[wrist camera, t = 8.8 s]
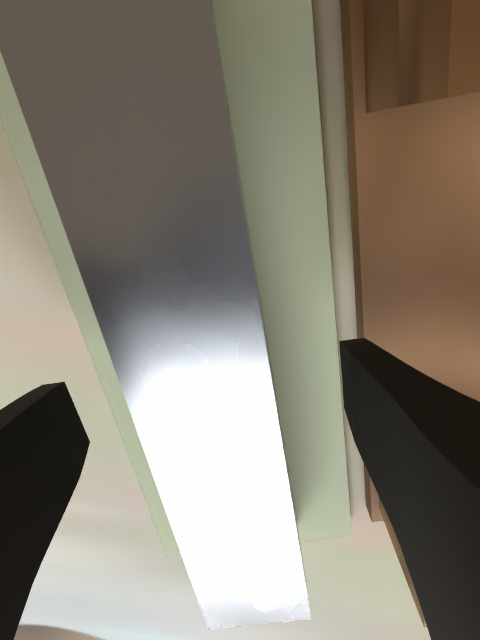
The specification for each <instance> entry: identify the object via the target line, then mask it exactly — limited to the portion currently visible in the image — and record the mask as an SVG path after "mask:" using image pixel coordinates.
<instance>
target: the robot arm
mask: <svg viewBox="0 0 480 640" xmlns="http://www.w3.org/2000/svg"><path fill="white" fill-rule="evenodd" d="M339 342H340V355H341V369H342V382H343V396H344V408H345V411H346V415H347V418H348V422H349V425H350V428H351V431H352V435H353V438H354V441H355V444H356V446H357V448H358V451H359V453H360V455H361V457H362V460H363V462H364V464H365V466H366V469H367V471H368V473H369V475H370V477H371V480H372V482H373V484H374V486H375V489H376V491H377V493H378V495H379V498H380V500H381V502H382V504H383V506H384V509H385V511H386V513H387V515H388V518H389V520H390V522H391V524H392V527H393V529H394V532H395V534H396V537H397V539H398V542H399V544H400V547H401V550H402V553H403V556H404V559H405V562H406V565H407V568H408V570H409V573H410V576H411V579H412V582H413V585H414V588H415V591H416V594H417V597H418V600H419V603H420V606H421V609H422V612H423V615H424V619H425V622H426V625H427V628H428V631H429V634H430V637H431V640H480V402H479V401H477V400H475V399H473V398H470V397H468V396H466V395H464V394H462V393H460V392H458V391H456V390H454V389H452V388H450V387H448V386H446V385H444V384H442V383H440V382H438V381H436V380H435V379H433V378H431V377H429V376H427V375H425V374H424V373H422V372H420V371H418V370H417V369H415V368H413V367H412V366H410V365H408V364H406V363H405V362H403V361H402V360H400V359H398V358H397V357H395V356H393V355H392V354H390V353H389V352H387V351H385V350H384V349H382V348H381V347H379V346H377V345H376V344H374V343H373V342H371V341H369V340H368V339H366V338H358V339H352V340H345V341H339ZM89 443H90V441H89V439H88V436H87V434H86V432H85V429H84V427H83V425H82V422H81V420H80V417H79V415H78V413H77V410H76V408H75V406H74V403H73V401H72V398H71V396H70V394H69V391H68V389H67V387H66V384H65V382H60V383H53V384H46V385H42V386H40V387H38V388H36V389H34V390H32V391H30V392H28V393H27V394H25V395H23V396H21V397H20V398H18V399H17V400H15V401H13V402H12V403H10V404H9V405H7V406H6V407H4V408H3V409H1V410H0V640H14V637H15V634H16V631H17V627H18V625H19V622H20V619H21V616H22V613H23V610H24V607H25V604H26V602H27V599H28V596H29V593H30V590H31V587H32V584H33V582H34V579H35V577H36V575H37V572H38V570H39V567H40V565H41V562H42V560H43V558H44V556H45V554H46V552H47V549H48V547H49V545H50V543H51V541H52V538H53V536H54V534H55V532H56V530H57V527H58V525H59V523H60V521H61V519H62V516H63V514H64V512H65V510H66V508H67V505H68V503H69V501H70V499H71V496H72V494H73V492H74V490H75V487H76V485H77V483H78V480H79V478H80V475H81V472H82V468H83V465H84V462H85V458H86V455H87V451H88V447H89Z"/></svg>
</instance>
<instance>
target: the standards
mask: <svg viewBox="0 0 480 640" xmlns="http://www.w3.org/2000/svg"><path fill="white" fill-rule="evenodd" d="M340 4H341V24H342V44H343V63H344V83H345V102H346V122H347V142H348V161H349V181H350V200H351V220H352V240H353V259H354V279H355V298H356V318H357V337H358V338H366V339H368V340H369V341H371V342H373V343H374V344H376V345H377V346H379V347H381V348H382V349H384V350H385V351H387V352H389V353H390V354H392V355H393V356H395V357H397V358H398V359H400V360H402V361H403V362H405V363H406V364H408V365H410V366H412V367H413V368H415V369H417V370H418V371H420V372H422V373H424V374H425V375H427V376H429V377H431V378H433V379H435V380H436V381H438V382H440V383H442V384H444V385H446V386H448V387H450V388H452V389H454V390H456V391H458V392H460V393H462V394H464V395H466V396H468V397H470V398H473V399H475V400H477V401H479V402H480V0H340ZM364 475H365V494H366V506H367V509H368V512H369V515H370V518H371V521H372V522H376V521H384V522H385V525H386V527H387V530H388V533H389V535H390V538H391V541H392V543H393V546H394V549H395V551H396V554H397V557H398V559H399V562H400V565H401V567H402V570H403V573H404V575H405V578H406V580H407V583H408V586H409V588H410V591H411V594H412V596H413V599H414V602H415V604H416V607H417V610H418V612H419V615H420V618H421V620H422V623H423V626H424V627H427V625H426V622H425V619H424V615H423V612H422V609H421V606H420V603H419V600H418V597H417V594H416V591H415V588H414V585H413V582H412V579H411V576H410V573H409V570H408V568H407V565H406V562H405V559H404V556H403V553H402V550H401V547H400V544H399V542H398V539H397V537H396V534H395V532H394V529H393V527H392V524H391V522H390V520H389V518H388V515H387V513H386V511H385V509H384V506H383V504H382V502H381V500H380V498H379V495H378V493H377V491H376V489H375V486H374V484H373V482H372V480H371V477H370V475H369V473H368V471H367V469H366V466H365V464H364Z"/></svg>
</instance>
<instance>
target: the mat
mask: <svg viewBox="0 0 480 640" xmlns="http://www.w3.org/2000/svg"><path fill="white" fill-rule="evenodd" d="M212 6H213V13H214V19H215V25H216V31H217V37H218V43H219V49H220V55H221V61H222V68H223V74H224V80H225V86H226V92H227V98H228V104H229V110H230V116H231V123H232V129H233V135H234V141H235V147H236V153H237V159H238V165H239V171H240V178H241V184H242V190H243V196H244V202H245V208H246V214H247V220H248V226H249V232H250V239H251V245H252V251H253V257H254V263H255V269H256V275H257V281H258V287H259V294H260V300H261V306H262V312H263V318H264V324H265V330H266V336H267V342H268V349H269V355H270V361H271V367H272V373H273V379H274V385H275V391H276V397H277V403H278V410H279V416H280V422H281V428H282V434H283V440H284V446H285V452H286V458H287V465H288V471H289V477H290V483H291V489H292V495H293V501H294V507H295V513H296V520H297V526H298V532H299V539H300V542H306V541H315V540H323V539H332V538H341V537H350V536H352V531H351V518H350V505H349V492H348V478H347V465H346V452H345V439H344V426H343V412H342V399H341V386H340V373H339V360H338V346H337V333H336V320H335V307H334V294H333V281H332V267H331V254H330V241H329V228H328V215H327V201H326V188H325V175H324V162H323V149H322V136H321V122H320V109H319V96H318V83H317V70H316V56H315V43H314V30H313V17H312V4H311V0H212ZM0 120H1V122H2V125H3V127H4V130H5V133H6V135H7V138H8V141H9V143H10V146H11V148H12V151H13V154H14V156H15V159H16V162H17V164H18V167H19V170H20V172H21V175H22V177H23V180H24V183H25V185H26V188H27V191H28V193H29V196H30V199H31V201H32V204H33V206H34V209H35V212H36V214H37V217H38V220H39V222H40V225H41V227H42V230H43V233H44V235H45V238H46V241H47V243H48V246H49V249H50V251H51V254H52V256H53V259H54V262H55V264H56V267H57V270H58V272H59V275H60V278H61V280H62V283H63V285H64V288H65V291H66V293H67V296H68V299H69V301H70V304H71V306H72V309H73V312H74V314H75V317H76V320H77V322H78V325H79V328H80V330H81V333H82V335H83V338H84V341H85V343H86V346H87V349H88V351H89V354H90V357H91V359H92V362H93V364H94V367H95V370H96V372H97V375H98V378H99V380H100V383H101V385H102V388H103V391H104V393H105V396H106V399H107V401H108V404H109V407H110V409H111V412H112V414H113V417H114V420H115V422H116V425H117V428H118V430H119V433H120V436H121V438H122V441H123V443H124V446H125V449H126V451H127V454H128V457H129V459H130V462H131V464H132V467H133V470H134V472H135V475H136V478H137V480H138V483H139V486H140V488H141V491H142V493H143V496H144V499H145V501H146V504H147V507H148V509H149V512H150V515H151V517H152V520H153V522H154V525H155V528H156V530H157V533H158V536H159V538H160V541H161V543H162V546H163V549H164V551H165V554H166V557H174V556H182V555H181V552H180V549H179V547H178V544H177V541H176V538H175V536H174V533H173V530H172V527H171V524H170V522H169V519H168V516H167V513H166V510H165V508H164V505H163V502H162V499H161V497H160V494H159V491H158V488H157V485H156V483H155V480H154V477H153V474H152V472H151V469H150V466H149V463H148V460H147V458H146V455H145V452H144V449H143V447H142V444H141V441H140V438H139V435H138V433H137V430H136V427H135V424H134V421H133V419H132V416H131V413H130V410H129V408H128V405H127V402H126V399H125V396H124V394H123V391H122V388H121V385H120V383H119V380H118V377H117V374H116V371H115V369H114V366H113V363H112V360H111V358H110V355H109V352H108V349H107V346H106V344H105V341H104V338H103V335H102V332H101V330H100V327H99V324H98V321H97V319H96V316H95V313H94V310H93V307H92V305H91V302H90V299H89V296H88V294H87V291H86V288H85V285H84V282H83V280H82V277H81V274H80V271H79V269H78V266H77V263H76V260H75V257H74V255H73V252H72V249H71V246H70V243H69V241H68V238H67V235H66V232H65V230H64V227H63V224H62V221H61V218H60V216H59V213H58V210H57V207H56V205H55V202H54V199H53V196H52V193H51V191H50V188H49V185H48V182H47V180H46V177H45V174H44V171H43V168H42V166H41V163H40V160H39V157H38V155H37V152H36V149H35V146H34V143H33V141H32V138H31V135H30V132H29V129H28V127H27V124H26V121H25V118H24V116H23V113H22V110H21V107H20V104H19V102H18V99H17V96H16V93H15V91H14V88H13V85H12V82H11V79H10V77H9V74H8V71H7V68H6V66H5V63H4V60H3V57H2V54H1V52H0Z"/></svg>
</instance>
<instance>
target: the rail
mask: <svg viewBox="0 0 480 640" xmlns="http://www.w3.org/2000/svg"><path fill="white" fill-rule="evenodd" d="M0 52H1V54H2V57H3V60H4V63H5V66H6V68H7V71H8V74H9V77H10V79H11V82H12V85H13V88H14V91H15V93H16V96H17V99H18V102H19V104H20V107H21V110H22V113H23V116H24V118H25V121H26V124H27V127H28V129H29V132H30V135H31V138H32V141H33V143H34V146H35V149H36V152H37V155H38V157H39V160H40V163H41V166H42V168H43V171H44V174H45V177H46V180H47V182H48V185H49V188H50V191H51V193H52V196H53V199H54V202H55V205H56V207H57V210H58V213H59V216H60V218H61V221H62V224H63V227H64V230H65V232H66V235H67V238H68V241H69V243H70V246H71V249H72V252H73V255H74V257H75V260H76V263H77V266H78V269H79V271H80V274H81V277H82V280H83V282H84V285H85V288H86V291H87V294H88V296H89V299H90V302H91V305H92V307H93V310H94V313H95V316H96V319H97V321H98V324H99V327H100V330H101V332H102V335H103V338H104V341H105V344H106V346H107V349H108V352H109V355H110V358H111V360H112V363H113V366H114V369H115V371H116V374H117V377H118V380H119V383H120V385H121V388H122V391H123V394H124V396H125V399H126V402H127V405H128V408H129V410H130V413H131V416H132V419H133V421H134V424H135V427H136V430H137V433H138V435H139V438H140V441H141V444H142V447H143V449H144V452H145V455H146V458H147V460H148V463H149V466H150V469H151V472H152V474H153V477H154V480H155V483H156V485H157V488H158V491H159V494H160V497H161V499H162V502H163V505H164V508H165V510H166V513H167V516H168V519H169V522H170V524H171V527H172V530H173V533H174V536H175V538H176V541H177V544H178V547H179V549H180V552H181V555H182V558H183V561H184V563H185V566H186V569H187V572H188V574H189V577H190V580H191V583H192V586H193V588H194V591H195V594H196V597H197V599H198V602H199V605H200V608H201V611H202V613H203V616H204V619H205V622H206V624H207V627H208V630H209V629H218V628H228V627H238V626H248V625H258V624H267V623H277V622H287V621H297V620H306V619H311V613H310V606H309V599H308V593H307V586H306V579H305V573H304V566H303V559H302V552H301V546H300V539H299V532H298V526H297V520H296V513H295V507H294V501H293V495H292V489H291V483H290V477H289V471H288V465H287V458H286V452H285V446H284V440H283V434H282V428H281V422H280V416H279V410H278V403H277V397H276V391H275V385H274V379H273V373H272V367H271V361H270V355H269V349H268V342H267V336H266V330H265V324H264V318H263V312H262V306H261V300H260V294H259V287H258V281H257V275H256V269H255V263H254V257H253V251H252V245H251V239H250V232H249V226H248V220H247V214H246V208H245V202H244V196H243V190H242V184H241V178H240V171H239V165H238V159H237V153H236V147H235V141H234V135H233V129H232V123H231V116H230V110H229V104H228V98H227V92H226V86H225V80H224V74H223V68H222V61H221V55H220V49H219V43H218V37H217V31H216V25H215V19H214V13H213V6H212V0H0Z"/></svg>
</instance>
